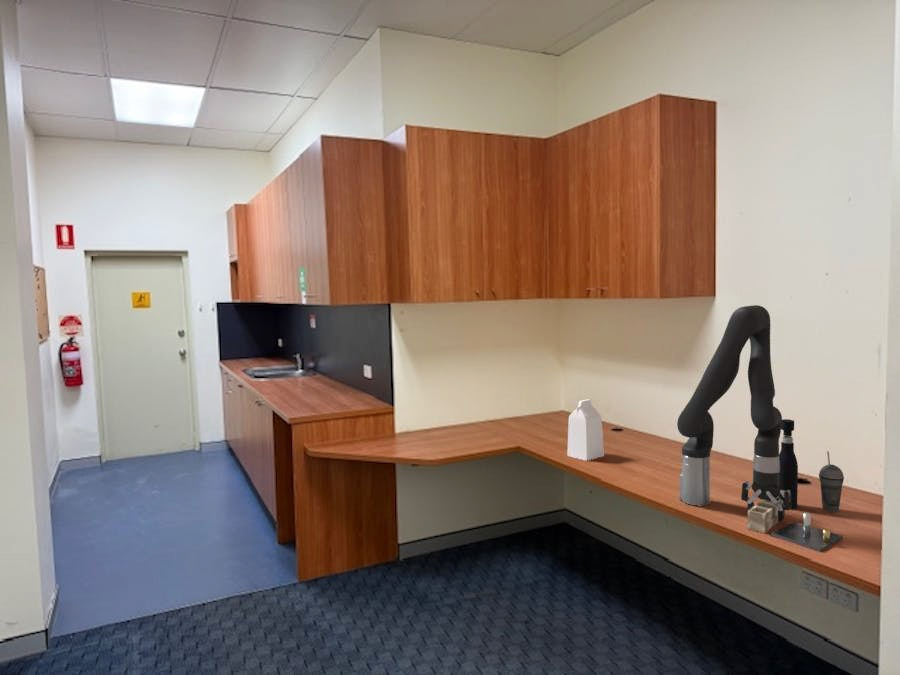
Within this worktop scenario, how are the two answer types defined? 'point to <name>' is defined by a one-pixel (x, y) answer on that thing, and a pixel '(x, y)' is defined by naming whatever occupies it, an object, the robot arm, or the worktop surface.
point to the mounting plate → (807, 535)
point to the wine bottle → (788, 463)
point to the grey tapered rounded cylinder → (831, 486)
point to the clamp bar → (763, 516)
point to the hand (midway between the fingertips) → (765, 517)
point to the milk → (585, 432)
